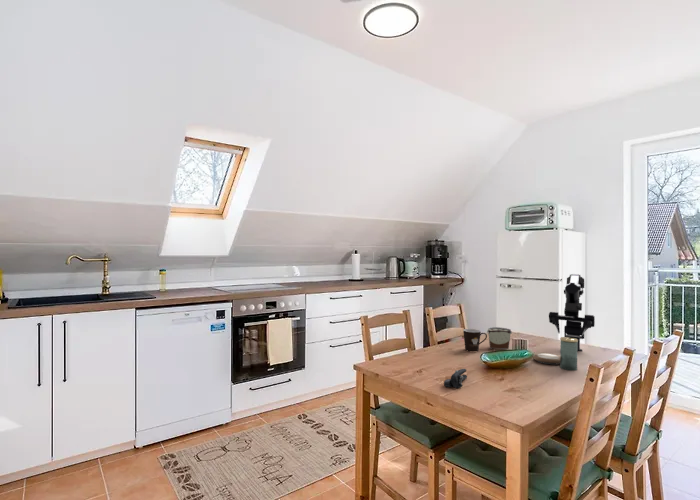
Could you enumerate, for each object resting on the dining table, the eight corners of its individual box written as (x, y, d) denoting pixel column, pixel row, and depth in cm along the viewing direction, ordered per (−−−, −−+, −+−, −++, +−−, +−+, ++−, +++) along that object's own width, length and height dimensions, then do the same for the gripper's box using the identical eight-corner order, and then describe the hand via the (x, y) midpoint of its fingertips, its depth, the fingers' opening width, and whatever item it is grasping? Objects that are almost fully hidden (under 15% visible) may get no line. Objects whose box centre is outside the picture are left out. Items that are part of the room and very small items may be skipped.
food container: (508, 346, 223) (508, 327, 223) (511, 349, 217) (511, 329, 217) (484, 345, 224) (484, 326, 224) (487, 348, 218) (487, 329, 218)
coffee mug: (462, 351, 211) (463, 331, 211) (463, 347, 219) (463, 328, 219) (487, 353, 208) (487, 333, 208) (486, 349, 216) (487, 329, 216)
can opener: (459, 391, 154) (460, 376, 154) (441, 388, 158) (441, 373, 158) (474, 378, 169) (474, 365, 169) (457, 375, 173) (457, 362, 173)
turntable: (529, 354, 202) (529, 351, 202) (557, 356, 200) (557, 353, 200) (537, 362, 189) (537, 359, 189) (568, 363, 187) (568, 360, 187)
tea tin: (557, 365, 188) (558, 336, 187) (573, 366, 187) (574, 337, 186) (563, 370, 181) (563, 340, 181) (579, 371, 180) (580, 340, 180)
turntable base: (533, 358, 200) (533, 356, 200) (555, 359, 199) (555, 357, 199) (539, 363, 190) (539, 362, 190) (563, 365, 189) (563, 363, 189)
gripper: (549, 294, 200) (546, 321, 191) (594, 297, 190) (593, 326, 181) (551, 309, 207) (548, 335, 198) (594, 312, 197) (594, 340, 188)
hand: (570, 334), depth 191 cm, fingers open, 9 cm apart
